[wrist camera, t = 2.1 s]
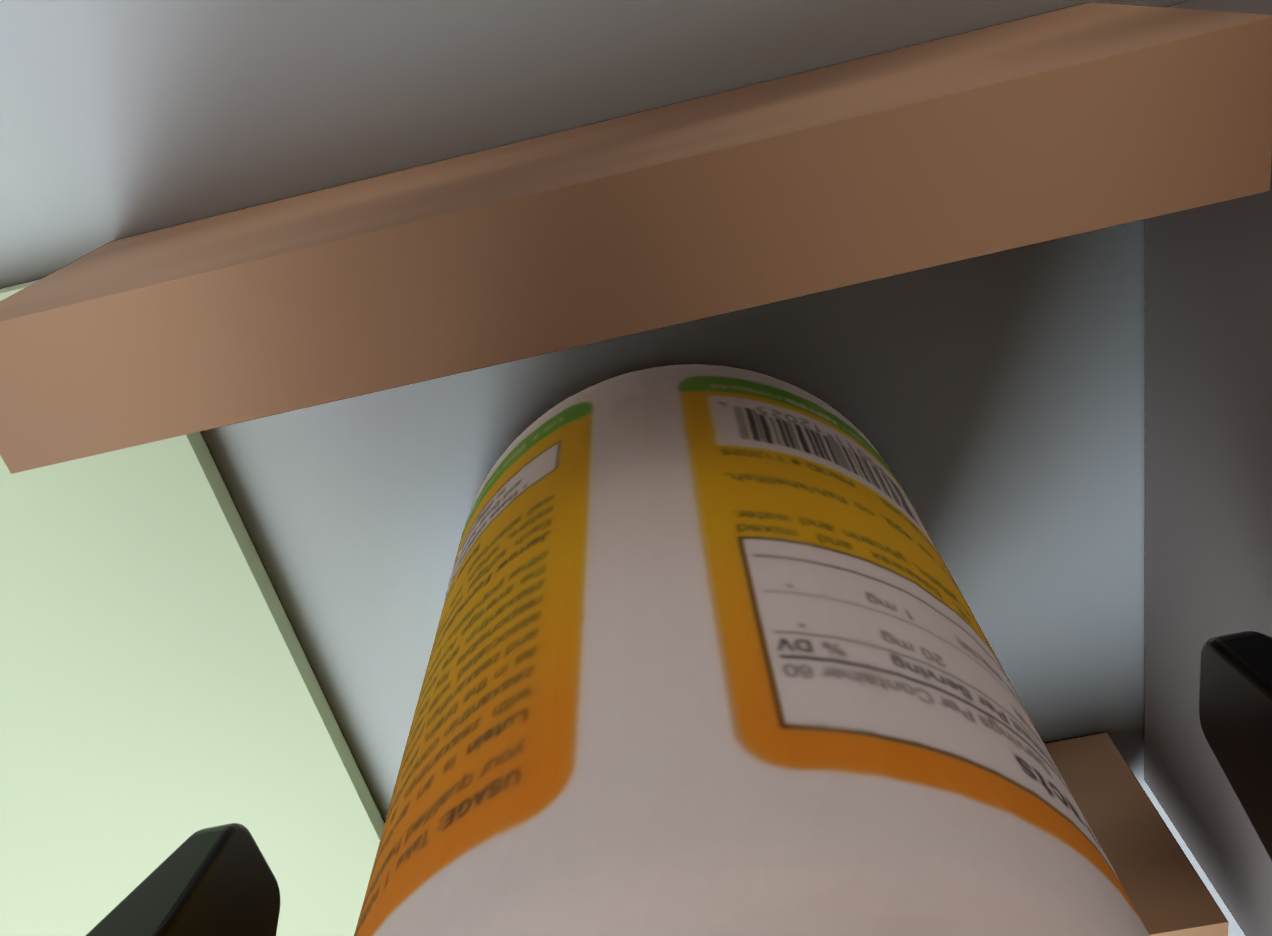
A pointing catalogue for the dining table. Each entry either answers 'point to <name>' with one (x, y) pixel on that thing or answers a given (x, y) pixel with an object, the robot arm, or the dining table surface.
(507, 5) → the dining table surface
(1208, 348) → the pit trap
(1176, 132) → the walnut trough
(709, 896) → the supplement bottle
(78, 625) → the pad
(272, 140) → the dining table surface
